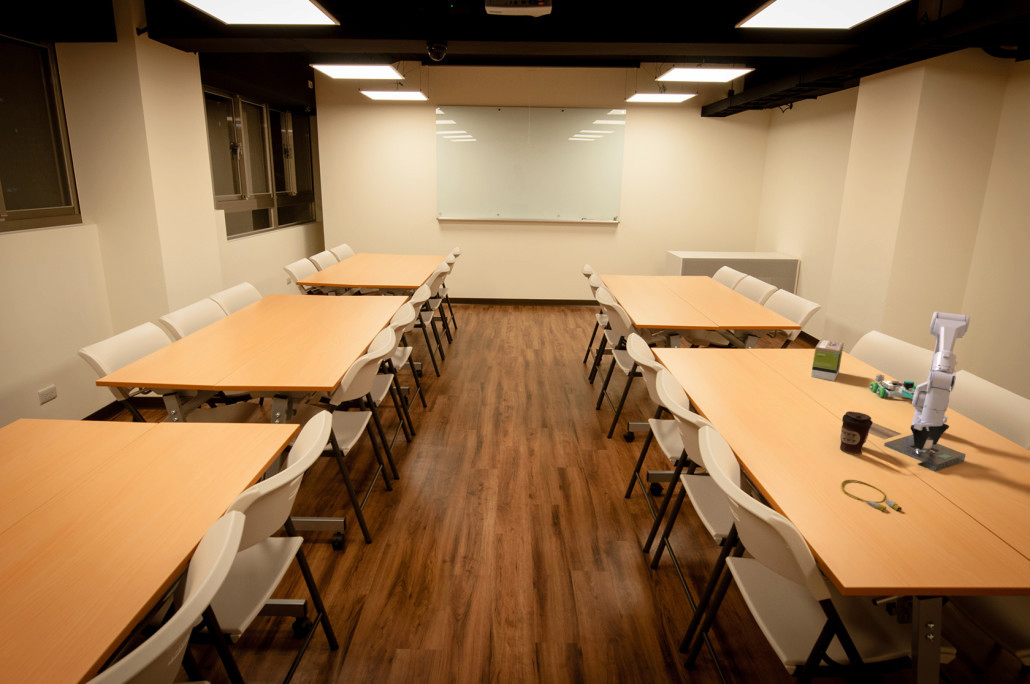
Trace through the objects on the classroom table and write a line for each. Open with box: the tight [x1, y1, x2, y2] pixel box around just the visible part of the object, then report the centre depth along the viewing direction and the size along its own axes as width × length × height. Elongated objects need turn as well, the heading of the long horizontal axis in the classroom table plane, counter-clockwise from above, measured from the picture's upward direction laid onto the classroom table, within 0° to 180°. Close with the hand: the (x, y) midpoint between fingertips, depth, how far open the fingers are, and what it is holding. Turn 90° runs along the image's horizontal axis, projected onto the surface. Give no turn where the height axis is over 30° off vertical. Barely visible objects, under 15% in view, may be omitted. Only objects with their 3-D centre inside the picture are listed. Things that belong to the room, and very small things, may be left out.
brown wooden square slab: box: [868, 422, 902, 440], centre depth 196 cm, size 10×10×2 cm
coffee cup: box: [839, 411, 874, 456], centre depth 182 cm, size 9×8×13 cm
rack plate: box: [883, 433, 966, 473], centre depth 181 cm, size 16×16×3 cm
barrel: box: [914, 437, 933, 454], centre depth 181 cm, size 4×4×6 cm
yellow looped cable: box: [840, 479, 903, 513], centre depth 158 cm, size 12×16×2 cm
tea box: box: [810, 339, 844, 382], centre depth 255 cm, size 15×10×15 cm, turn 144°
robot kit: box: [869, 373, 926, 400], centre depth 228 cm, size 19×25×9 cm
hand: (925, 445), depth 181 cm, fingers open, 7 cm apart
